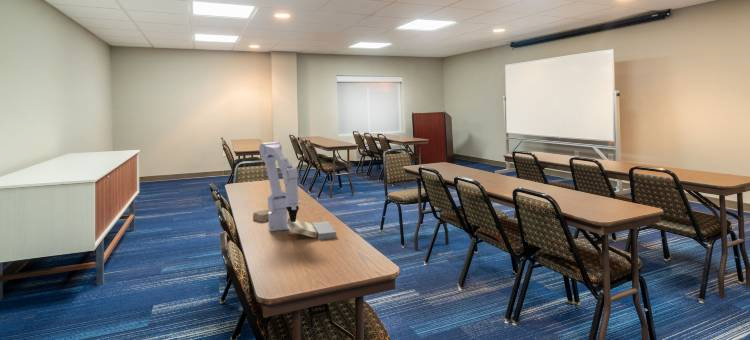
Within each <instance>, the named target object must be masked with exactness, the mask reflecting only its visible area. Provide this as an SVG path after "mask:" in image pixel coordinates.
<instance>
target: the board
mask: <svg viewBox="0 0 750 340" xmlns="http://www.w3.org/2000/svg"><path fill="white" fill-rule="evenodd" d="M311 224H312V225H313V226H314V228H315V230H316V231H317V235H316V238H318V240H326V239H336V238H337V231H336V230H335V229H334V227H333V226H332V224H330V222H329V221H328V220H326V221H318V222H316V221H315V222H311Z"/></svg>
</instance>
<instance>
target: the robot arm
mask: <svg viewBox="0 0 750 340" xmlns="http://www.w3.org/2000/svg"><path fill="white" fill-rule="evenodd" d="M282 148H283V147H282V144H281V142H279V141H273V142H271V141H270V142H261V143H260V144H259V149H258V151H259V155H260V160H261V161H263V162H264V165H265V168H266V172H267V177H268V182H269V186H270V190H271V193H270V195H268V197H267V206H268V207H267V208H268V209H269V210H270V211H271V212H268V220H267V221H268V229H269V232H279V231H285V230H286V231H287V230H290V229H289V226H288V224H287V222H288V215H289V218H290V220H291V222H295V221H296V220H297V215H298V211H299V209H300V208H299V205H300V204H302V202H301V200H300V201H299V189H298V188H299V187H298V180H299V178H300V172H299V168H298V166H293V164H292V163H291V162H290V160H289V159H288V158H287V157H285V156H284V154H283V152H282ZM276 162H277V165H276ZM277 166H278V168H279V170H280V171H281V173H282V174H281V175H282V179H283V184H284V189H285V190H284V191H282V190H283V189H282V185H281V183H280V177H279V174H278V169H277Z"/></svg>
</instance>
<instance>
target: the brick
mask: <svg viewBox="0 0 750 340" xmlns="http://www.w3.org/2000/svg"><path fill="white" fill-rule="evenodd" d="M268 212H271V211H270V210H269V208H268V209H263V210H258V211H255V212H253V214H252V220H253V221H256V222H259V223H262V222H267V221H269V220H268Z"/></svg>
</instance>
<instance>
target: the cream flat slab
mask: <svg viewBox="0 0 750 340" xmlns="http://www.w3.org/2000/svg"><path fill="white" fill-rule="evenodd" d="M287 224H288V227H289V229H288V230H289V232H291V233H294V234H299V235H303V236H306V237H309V238H310V237H311V238H315V239H316V238H317V231H316V230H315V228H314V226H313V225H312V223H310V222H305V221H302V220H298V219H296V221H295V222H291V220H290V217H288V218H287Z"/></svg>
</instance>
